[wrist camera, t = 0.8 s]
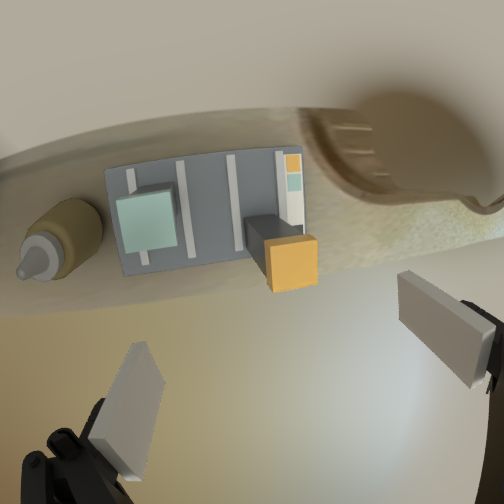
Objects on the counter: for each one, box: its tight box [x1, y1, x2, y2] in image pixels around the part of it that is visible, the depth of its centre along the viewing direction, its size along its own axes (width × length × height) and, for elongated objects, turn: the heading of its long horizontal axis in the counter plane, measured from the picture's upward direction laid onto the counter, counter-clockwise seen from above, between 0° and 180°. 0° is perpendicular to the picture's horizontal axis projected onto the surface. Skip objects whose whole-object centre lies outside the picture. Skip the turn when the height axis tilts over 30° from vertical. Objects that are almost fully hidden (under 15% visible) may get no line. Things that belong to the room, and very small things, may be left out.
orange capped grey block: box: [243, 214, 318, 293], centre depth 33 cm, size 4×4×13 cm
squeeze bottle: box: [16, 199, 103, 282], centre depth 27 cm, size 8×8×18 cm
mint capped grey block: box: [116, 181, 178, 254], centre depth 29 cm, size 4×4×13 cm
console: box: [104, 146, 306, 277], centre depth 37 cm, size 25×14×4 cm, turn 95°
